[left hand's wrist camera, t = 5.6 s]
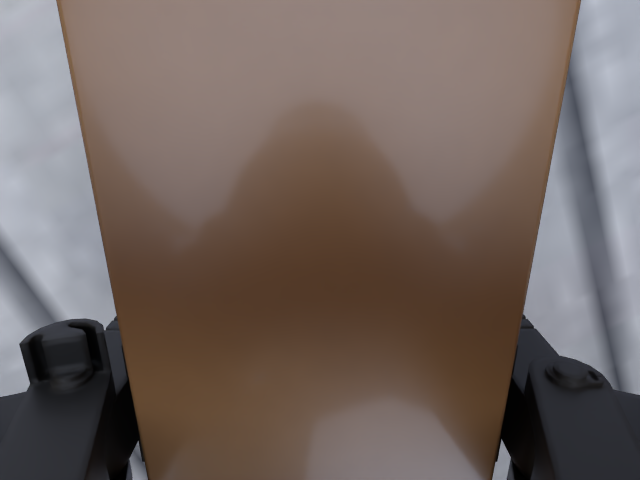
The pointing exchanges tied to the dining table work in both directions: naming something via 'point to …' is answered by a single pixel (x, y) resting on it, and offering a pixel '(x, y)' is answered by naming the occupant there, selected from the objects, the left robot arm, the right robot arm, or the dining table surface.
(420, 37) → the bar
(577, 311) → the dining table surface
